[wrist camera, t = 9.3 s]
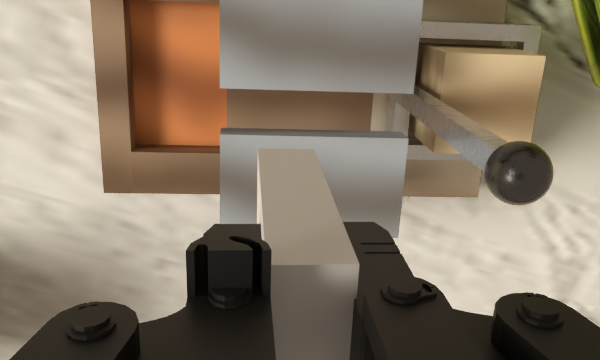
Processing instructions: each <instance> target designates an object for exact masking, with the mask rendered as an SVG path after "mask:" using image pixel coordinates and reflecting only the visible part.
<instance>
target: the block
mask: <svg viewBox="0 0 600 360" xmlns="http://www.w3.org/2000/svg"><path fill="white" fill-rule="evenodd" d="M545 60H546V56H544V55H540V54H536V53H531V52H527V51H523V50H519V49H515V48H511V47H507V46H501V45H474V44H447V43H420V42H419V46H418V56H417V65H416V74H415V84H414V85H416V86H417V87H419V88H421V89H422V90H424V91H426V92H427V93H429V94H431V95H432V96H434V97H435V98H437V99H439V100H440V101H442V102H444V103H445V104H447V105H448V106H450V107H452V108H453V109H455V110H457V111H458V112H460V113H462V114H463V115H465V116H466V117H468V118H470V119H471V120H473V121H475V122H476V123H478V124H479V125H481V126H483V127H484V128H486V129H488V130H489V131H491V132H492V133H494V134H496V135H497V136H499V137H501V138H502V139H504V140H506V141H507V142H513V141H526V142H530V143H531V138H532V133H533V127H534V121H535V116H536V110H537V105H538V99H539V93H540V88H541V82H542V76H543V71H544V65H545ZM408 130H409V131H410V132H411V133H412V134H413V135H414V136H415V137H416V138H418V139H419V140H420V141H421V142H422V143H423V144H424V145H425V146H426V147H427V148H428V149H429V150H431V151H432V152H433V153H445V154H460V153H459V152H458V151H456V150H455V149H454V148H453V147H451V146H450V145H449V144H448V143H447V142H445V141H444V140H443V139H442V138H440V137H439V136H438V135H437V134H435V133H434V132H433V131H432V130H430V129H429V128H428V127H427V126H425V125H424V124H423V123H422V122H421V121H419V120H418V119H417V118H416V117H414V116H413V115H412V114H411V113H410V117H409V126H408Z"/></svg>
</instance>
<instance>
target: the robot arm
mask: <svg viewBox="0 0 600 360" xmlns="http://www.w3.org/2000/svg"><path fill="white" fill-rule="evenodd" d="M186 268H187V303H186V307H184V308H183V309H181V310H180V311H178V312H176V313H174V314H172V315H169V316H167V317H164V318H160V319H157V320H153V321H148V322H143V323H139V321H138V318H137V316H136V313H135V312H134V311H133V310H131V309H130V308H129V307H127V306H125V305H121V304H117V303H113V302H89V303H88V304H87V303H84V304H80V305H77V306H75V307H72V308H70V309H67V310H65V311H62V312H60V313H59V314H58V315H56V316H55V317H53V318H52V319H51V320H49V321H48V322H47V323H46V324H45V325H44V326H43V327H42V328H41V329H40V330H39V331H38V332H37V333H36V334H35V335H34V336H33V337H32V338H31V339H30V340H29V341H28V342H27V343H26V344H25V345H24V346H23V347H22V348H21V349H20V350H19V351H18V352H17V353H16V354H15V355H14V356H13V357H12V358H11V359H10V360H600V327H598V326H597V325H595V324H594V323H592V322H591V321H590V320H588V319H587V318H585V317H584V316H583V315H581V314H580V313H578V312H577V311H575V310H574V309H573V308H571V307H569V306H567V305H565V304H563V303H562V302H560V301H557V300H554V299H551V298H548V297H547V296H545V295H541V294H534V293H514V294H509V295H506V296H503V297H501V298H500V299H499V300H498V301H497V302H496V303H495V309H494V315H493V316H487V315H481V314H475V313H469V312H464V311H460V310H455V309H452V307H451V306H450V304H449V302H448V301H447V299H446V298H445V296H444V294H443V293H442V292H441V291H440V290H439V289H438V288H437V287H436V286H435V285H433V284H431V283H429V282H427V281H425V280H424V279H420V278H416V277H414V276H413V274H412V272H411V270H410V269H409V267H408V265H407V263H406V261H405V260H404V258H403V256H402V254H400V251H399V249H398V247H397V246H396V245H395V242H394V240H393V238H392V237H391V235H390V233H389V231H387V230H386V229H384V228H383V227H381V226H380V225H378V224H377V223H375V222H342V219H341V217H340V214H339V212H338V209H337V207H336V204H335V202H334V199H333V197H332V194H331V191H330V189H329V186H328V184H327V181H326V179H325V176H324V174H323V171H322V169H321V166H320V164H319V161H318V159H317V156H316V154H315V151H314V149H258V163H257V224H214V225H213V226H212V227H211V228H210V229H209V230H208V231H206V232H205V233H204V235H203V237H202V238H200V239H198V240H196V241H194V242H193V243H191V244H190V245H189V247H188V248H187V250H186Z"/></svg>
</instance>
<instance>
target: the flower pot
mask: <svg viewBox="0 0 600 360" xmlns="http://www.w3.org/2000/svg"><path fill="white" fill-rule="evenodd" d="M571 1H572V5H573V9H574V13H575V17H576V21H577V25H578V29H579V33H580V37H581V40H582V44H583V48H584V52H585V56H586V59H587V63H588V67H589V70H590V74H591V77H592V80H593V82H594V84H595V85H596V86H598V87H600V0H571Z"/></svg>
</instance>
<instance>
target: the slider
mask: <svg viewBox="0 0 600 360" xmlns="http://www.w3.org/2000/svg"><path fill="white" fill-rule="evenodd" d="M541 31H542V26H537V25H531V24H513V23H488V22H464V21H439V20H421V28H420V37H419V38H440V39H466V40H493V41H511V43H510V47H511V48H515V49H519V50H523V51H527V52H531V53H536V54H538V48H539V42H540V37H541ZM410 113H411V114H412V115H413V116H414V117H416V118H417V119H418V120H419V121H421V122H422V123H423V124H424V125H425V126H427V127H428V128H429V129H430V130H432V131H433V132H434V133H435V134H437V135H438V136H439V137H440V138H442V139H443V140H444V141H445V142H447V143H448V144H449V145H450V146H451V147H453V148H454V149H455V150H456V151H458V152H459V153H460V154H445V153H433V152H432V151H431V150H429V149H428V148H427V147H426V146H425V145H424V144H423V143H422V142H421V141H420V140H419V139H418V138H409V140H408V149H407V158H406V159H411V160H467V161H470V162H471V163H473V164H474V165H475V166H476V167H477V168H479V169H480V170H481V171H482V172H484V173H485V181H486V184H487V186H488V188H489V190H490V191H491V192H492V194H493V195H494V196H495V197H497V198H498V199H499V200H501V201H503V202H505V203H508V204H512V205H526V204H530V203H533V202H535V201H537V200H538V199H540V198H541V197H542V196H543V195H544V194H545V193H546V192H547V191H548V189H549V188H550V186H551V183H552V180H553V166H552V162H551V160H550V158H549V156H548V155H547V154H546V153H545V151H544V150H542V149H541V148H540V147H539V146H537V145H535V144H532V143H530V142H526V141H513V142H507V141H506V140H504V139H502V138H501V137H499V136H497V135H496V134H494V133H492V132H491V131H489V130H488V129H486V128H484V127H483V126H481V125H479V124H478V123H476V122H475V121H473V120H471V119H470V118H468V117H466V116H465V115H463V114H462V113H460V112H458V111H457V110H455V109H453V108H452V107H450V106H448V105H447V104H445V103H444V102H442V101H440V100H439V99H437V98H435V97H434V96H432V95H431V94H429V93H427V92H426V91H424V90H422V89H421V88H419V87H417V86H416V85H414V93H413V94H401V93H389V101H388V112H387V123H386V131H393V132H402V133H403V134H404V135H406V136H408V126H409V117H410Z"/></svg>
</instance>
